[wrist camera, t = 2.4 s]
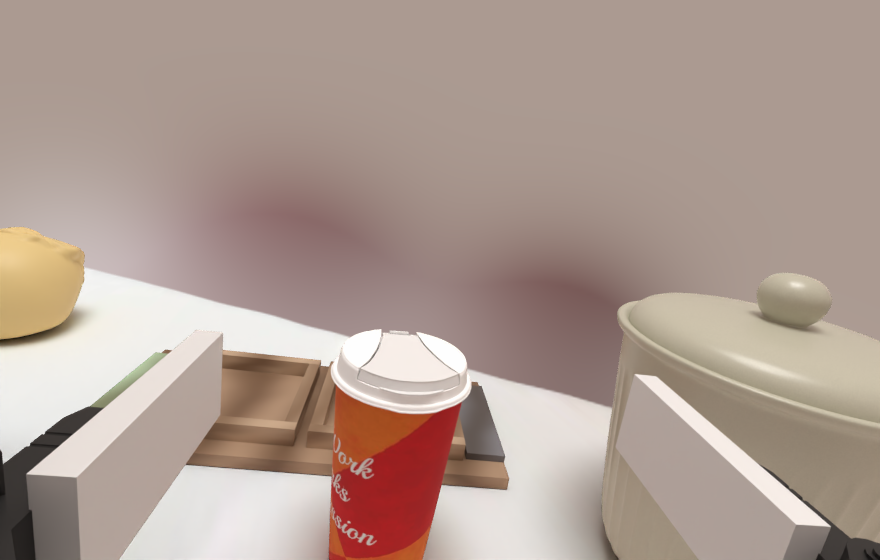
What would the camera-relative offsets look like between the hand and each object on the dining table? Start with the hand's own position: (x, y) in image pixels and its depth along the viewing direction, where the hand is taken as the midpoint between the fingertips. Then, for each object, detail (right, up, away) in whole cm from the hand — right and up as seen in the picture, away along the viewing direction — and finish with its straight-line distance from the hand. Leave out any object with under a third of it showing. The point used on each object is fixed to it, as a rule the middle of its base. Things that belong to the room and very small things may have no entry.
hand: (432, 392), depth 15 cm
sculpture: (-45, -2, +35) cm, 58 cm away
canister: (+18, -16, +18) cm, 30 cm away
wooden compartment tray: (-11, -9, +28) cm, 32 cm away
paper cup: (-4, -14, +14) cm, 20 cm away
